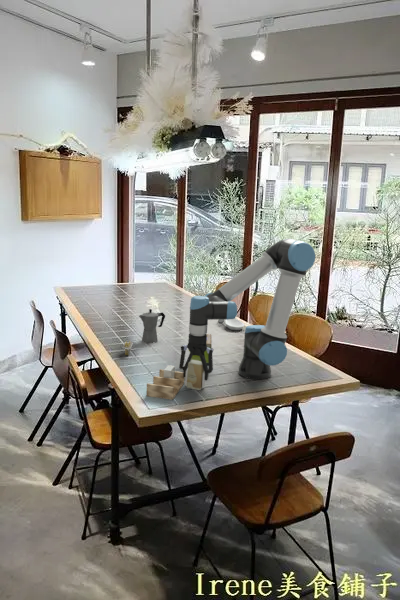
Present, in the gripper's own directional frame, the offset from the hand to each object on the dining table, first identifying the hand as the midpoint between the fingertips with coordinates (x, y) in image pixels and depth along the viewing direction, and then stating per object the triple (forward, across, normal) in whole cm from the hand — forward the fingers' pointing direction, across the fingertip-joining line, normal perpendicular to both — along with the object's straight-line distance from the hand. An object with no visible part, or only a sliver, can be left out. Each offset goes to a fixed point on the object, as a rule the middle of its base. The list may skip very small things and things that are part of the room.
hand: (195, 385), depth 198 cm
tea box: (+2, +4, -26) cm, 26 cm away
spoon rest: (+2, +2, -103) cm, 103 cm away
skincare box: (+2, 0, 0) cm, 2 cm away
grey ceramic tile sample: (+1, +11, +2) cm, 11 cm away
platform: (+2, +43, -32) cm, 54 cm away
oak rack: (+2, +11, +6) cm, 13 cm away
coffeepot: (+2, +39, -57) cm, 69 cm away
